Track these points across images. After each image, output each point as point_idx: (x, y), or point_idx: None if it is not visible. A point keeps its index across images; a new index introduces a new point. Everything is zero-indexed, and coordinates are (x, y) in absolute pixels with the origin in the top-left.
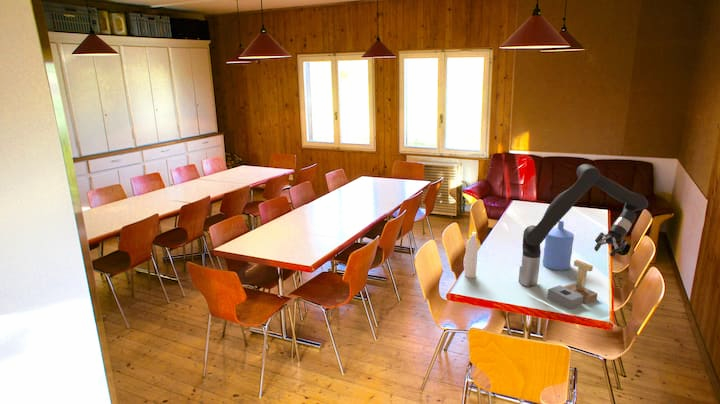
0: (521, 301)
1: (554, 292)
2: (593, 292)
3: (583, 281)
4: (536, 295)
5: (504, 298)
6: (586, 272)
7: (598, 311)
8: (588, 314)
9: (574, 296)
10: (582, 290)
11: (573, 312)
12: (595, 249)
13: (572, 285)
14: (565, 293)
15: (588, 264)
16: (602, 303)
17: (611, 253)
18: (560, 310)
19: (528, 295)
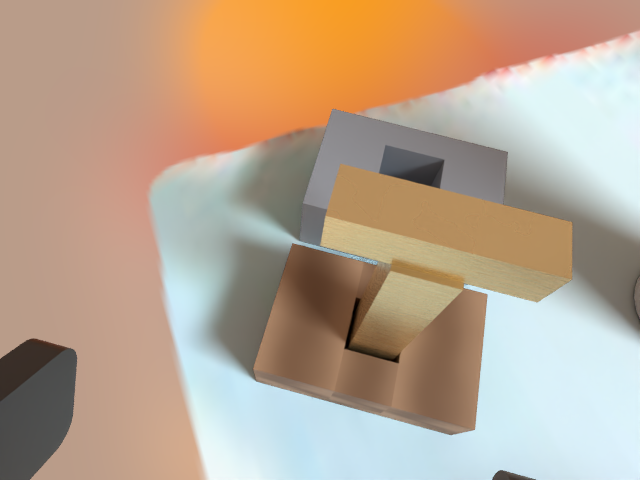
0: (541, 101)
1: (457, 141)
2: (282, 361)
3: (369, 291)
4: (544, 201)
5: (606, 81)
6: (380, 286)
7: (202, 249)
8: (238, 182)
9: (342, 160)
10: (355, 321)
11: (307, 154)
12: (508, 472)
13: (455, 370)
14: None
15: (389, 228)
16: (212, 379)
17: (15, 357)
18: None
19: (568, 174)
